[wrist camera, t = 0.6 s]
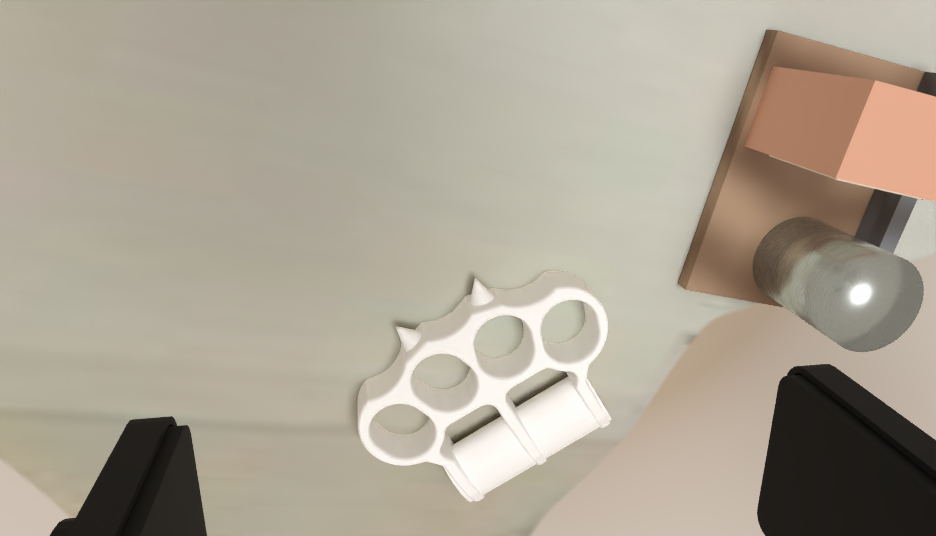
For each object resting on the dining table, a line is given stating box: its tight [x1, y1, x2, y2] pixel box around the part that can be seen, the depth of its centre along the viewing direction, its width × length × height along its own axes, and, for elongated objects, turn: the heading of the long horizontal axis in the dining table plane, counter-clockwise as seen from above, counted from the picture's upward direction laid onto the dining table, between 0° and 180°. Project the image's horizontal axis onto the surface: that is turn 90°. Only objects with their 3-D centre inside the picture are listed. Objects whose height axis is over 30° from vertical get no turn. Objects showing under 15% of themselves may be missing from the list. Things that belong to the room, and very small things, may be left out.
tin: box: [753, 217, 924, 352], centre depth 44 cm, size 6×6×8 cm
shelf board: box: [678, 30, 936, 307], centre depth 45 cm, size 17×12×4 cm
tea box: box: [744, 66, 936, 201], centre depth 40 cm, size 7×5×9 cm
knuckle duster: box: [357, 271, 612, 502], centre depth 47 cm, size 3×18×15 cm
